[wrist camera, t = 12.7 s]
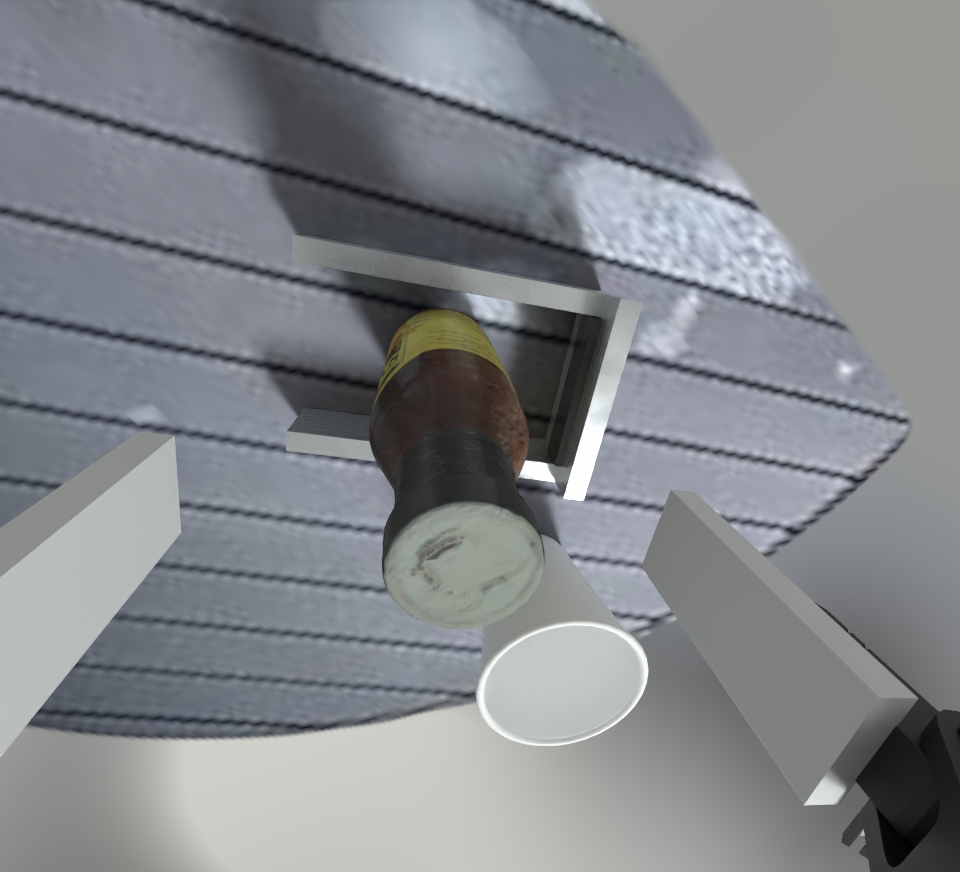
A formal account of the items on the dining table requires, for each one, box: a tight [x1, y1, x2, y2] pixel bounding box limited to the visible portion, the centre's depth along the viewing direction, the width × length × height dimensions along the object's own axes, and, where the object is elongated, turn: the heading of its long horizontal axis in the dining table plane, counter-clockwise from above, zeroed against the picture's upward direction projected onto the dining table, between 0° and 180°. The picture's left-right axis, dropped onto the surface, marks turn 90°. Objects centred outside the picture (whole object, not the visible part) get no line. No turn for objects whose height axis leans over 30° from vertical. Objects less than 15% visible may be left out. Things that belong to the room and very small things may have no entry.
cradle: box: [286, 235, 643, 500], centre depth 26 cm, size 17×11×6 cm, turn 80°
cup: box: [476, 535, 648, 746], centre depth 31 cm, size 10×10×11 cm
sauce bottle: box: [369, 308, 545, 629], centre depth 20 cm, size 7×6×20 cm
